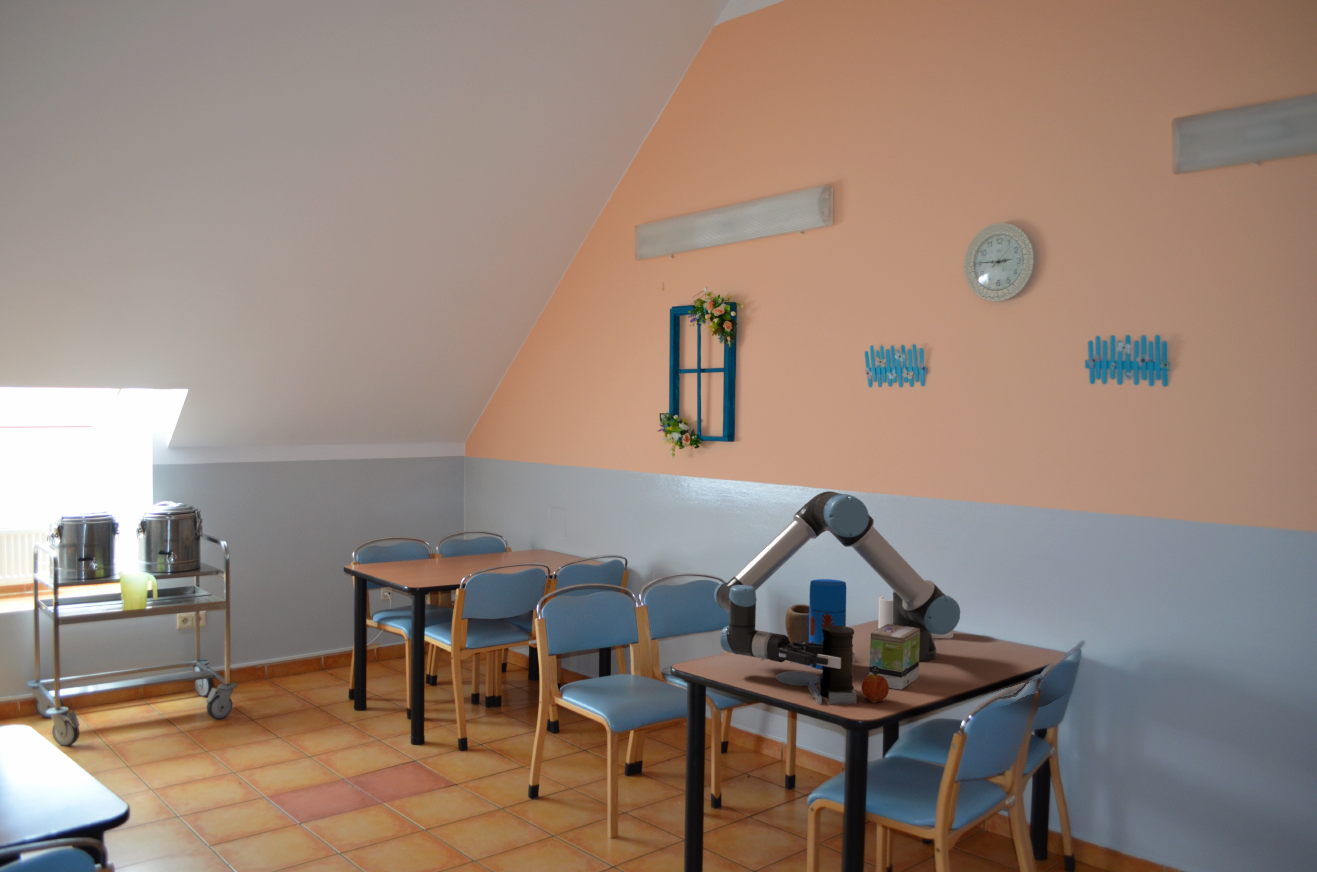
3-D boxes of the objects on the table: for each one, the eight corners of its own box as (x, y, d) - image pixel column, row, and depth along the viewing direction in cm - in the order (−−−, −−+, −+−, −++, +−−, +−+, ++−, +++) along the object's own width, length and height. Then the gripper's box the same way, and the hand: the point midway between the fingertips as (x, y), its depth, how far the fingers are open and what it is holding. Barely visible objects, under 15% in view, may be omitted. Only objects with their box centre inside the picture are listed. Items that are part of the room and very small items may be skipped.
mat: (815, 673, 275) (815, 671, 275) (823, 685, 263) (823, 683, 263) (774, 673, 274) (774, 671, 274) (779, 685, 262) (779, 683, 262)
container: (854, 691, 257) (855, 625, 257) (853, 701, 248) (854, 633, 248) (820, 689, 259) (822, 623, 259) (818, 699, 250) (820, 631, 250)
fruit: (855, 699, 250) (856, 669, 250) (875, 695, 254) (876, 666, 254) (874, 706, 245) (874, 675, 244) (894, 702, 248) (894, 672, 248)
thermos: (844, 671, 277) (846, 586, 277) (807, 668, 279) (809, 584, 279) (845, 661, 288) (846, 579, 287) (809, 659, 290) (810, 578, 289)
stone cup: (798, 660, 289) (799, 611, 289) (771, 652, 299) (771, 604, 298) (832, 652, 299) (833, 605, 298) (804, 645, 308) (805, 599, 308)
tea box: (903, 690, 259) (904, 637, 258) (867, 684, 264) (868, 632, 264) (919, 678, 272) (920, 626, 271) (885, 672, 277) (886, 622, 277)
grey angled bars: (844, 687, 261) (844, 676, 261) (856, 704, 246) (856, 692, 246) (807, 687, 261) (808, 676, 261) (817, 703, 246) (817, 692, 246)
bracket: (880, 636, 322) (880, 600, 321) (876, 629, 331) (877, 595, 331) (956, 639, 319) (956, 603, 318) (950, 632, 329) (951, 597, 328)
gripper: (789, 652, 274) (863, 665, 260) (752, 667, 257) (829, 682, 244) (789, 626, 273) (863, 638, 260) (753, 640, 257) (830, 653, 243)
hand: (847, 659), depth 252 cm, fingers closed on container, 8 cm apart
